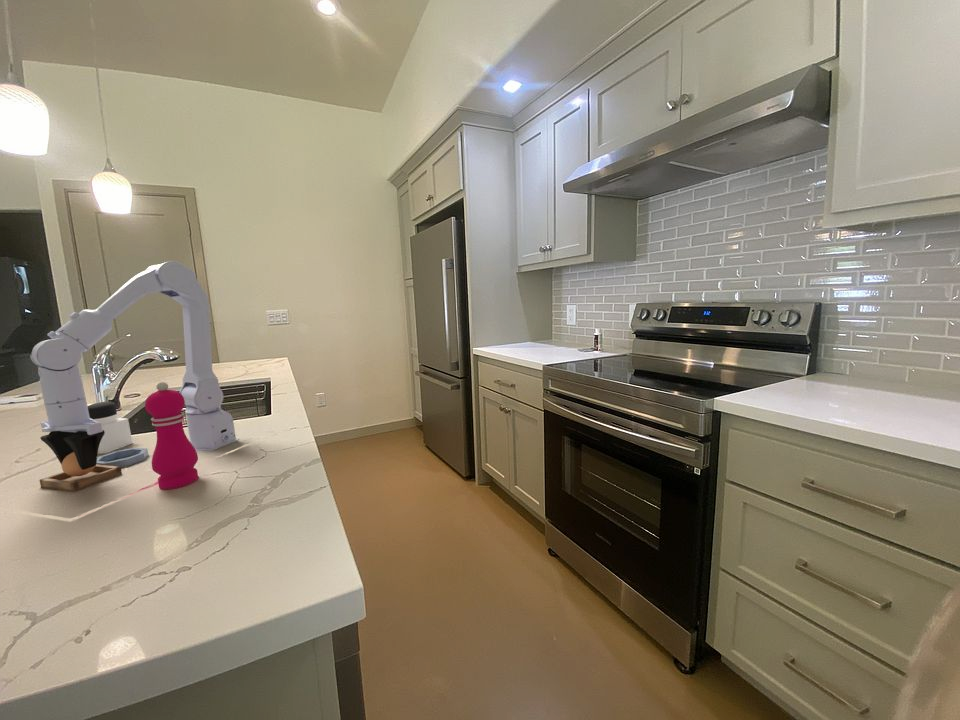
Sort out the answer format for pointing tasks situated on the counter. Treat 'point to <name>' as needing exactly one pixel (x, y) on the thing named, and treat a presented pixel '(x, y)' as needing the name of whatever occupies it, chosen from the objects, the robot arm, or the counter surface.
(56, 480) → the tray
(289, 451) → the counter surface
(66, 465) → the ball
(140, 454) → the ramekin
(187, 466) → the pepper mill
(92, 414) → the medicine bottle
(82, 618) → the counter surface
